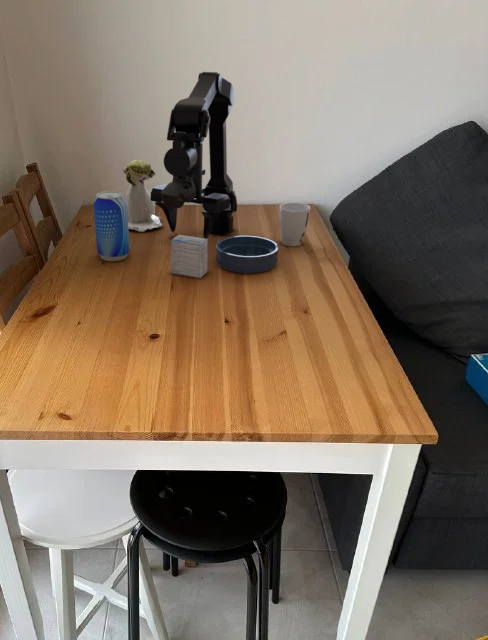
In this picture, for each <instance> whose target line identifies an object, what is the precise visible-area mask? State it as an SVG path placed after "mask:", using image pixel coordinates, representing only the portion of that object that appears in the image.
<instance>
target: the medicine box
mask: <svg viewBox="0 0 488 640" xmlns="http://www.w3.org/2000/svg"><path fill="white" fill-rule="evenodd" d="M170 247H171V248H170V251H171V252H170V254H171V255H170V256H171V257H170V258H171V259H170V260H171V274H172V275H173V274H174V275H179V276H186V277H190V278H191V277H192V278H196V279H201V278H203V276H205V275H206V274H207V273H208V238H206V239H204V237H196V236H190V235H183V234H178V235H176V236H175V237H173V238H172V239H171V240H170Z"/></svg>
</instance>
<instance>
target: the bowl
mask: <svg viewBox="0 0 488 640" xmlns="http://www.w3.org/2000/svg"><path fill="white" fill-rule="evenodd" d="M279 249H280V246H279V244H278V243H277V242H275V241H273V240H272V239H269V238H266V237H262V236H255V235H234V236H228V237H225V238H222V239H221V240H218V241H217V243H216V244H215V261H216V264H217V265H218V266H219V267H221V268H223V269H224V270H226V271H229V272H232V273H237V274H258V273H265V272H266V271H269V270H272V269H274V268H275V267H276V266H277V264H278V261H279V259H278V258H279Z"/></svg>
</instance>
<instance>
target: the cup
mask: <svg viewBox="0 0 488 640" xmlns="http://www.w3.org/2000/svg"><path fill="white" fill-rule="evenodd" d="M310 212H311V206H310V205H308V204H306V203H301V202H285V203H282V204H280V205H279V232H280V233H279V234H280V239H281V242H282V245H284V246H287V247H298V246H300V245H301V244H302V242H303V240H304V237H305V235H306V231H307V227H308V223H309V217H310V214H311V213H310Z"/></svg>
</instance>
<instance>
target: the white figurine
mask: <svg viewBox="0 0 488 640" xmlns="http://www.w3.org/2000/svg"><path fill="white" fill-rule="evenodd" d="M122 172H123V175H125V179H126V182H127V183H129V184H130V185H129V186H128V189H127V191H126V195H125V198H124V199H125V200H126V202H127V212H128V230H134V231H136V232H141V233H143V232H146V231H147V230H153V229H154V228H160V227H163V223H162V222H161V220H160V219H161V216H156V215H155V211H156V206H157V205H156V204H155V202H154V201H151V200H150V192H149V191H148V188H149V187H150V186H146V184H145V181H149V180H150V179H152V178H154V176H155V175H156V174H157V172H156V170H153V168H152V166H151V163H150V164H149V163H148V162H147V161H145V160H140V159H135V160H131V161H129V163H128V164H127V165H126V166H125V167H124V168H123V170H122Z"/></svg>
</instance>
